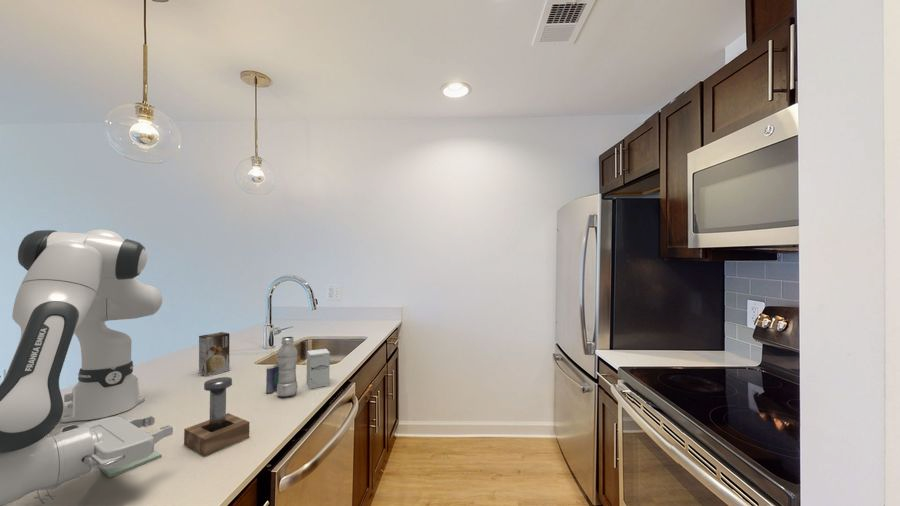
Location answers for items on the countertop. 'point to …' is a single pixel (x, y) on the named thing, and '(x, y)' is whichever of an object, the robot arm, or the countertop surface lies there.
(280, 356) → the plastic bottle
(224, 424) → the dark grey capped cylinder
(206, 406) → the countertop surface
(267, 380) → the flask
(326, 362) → the supplement box
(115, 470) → the coaster
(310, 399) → the countertop surface
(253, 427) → the countertop surface
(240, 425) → the walnut block
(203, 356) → the coffee box
